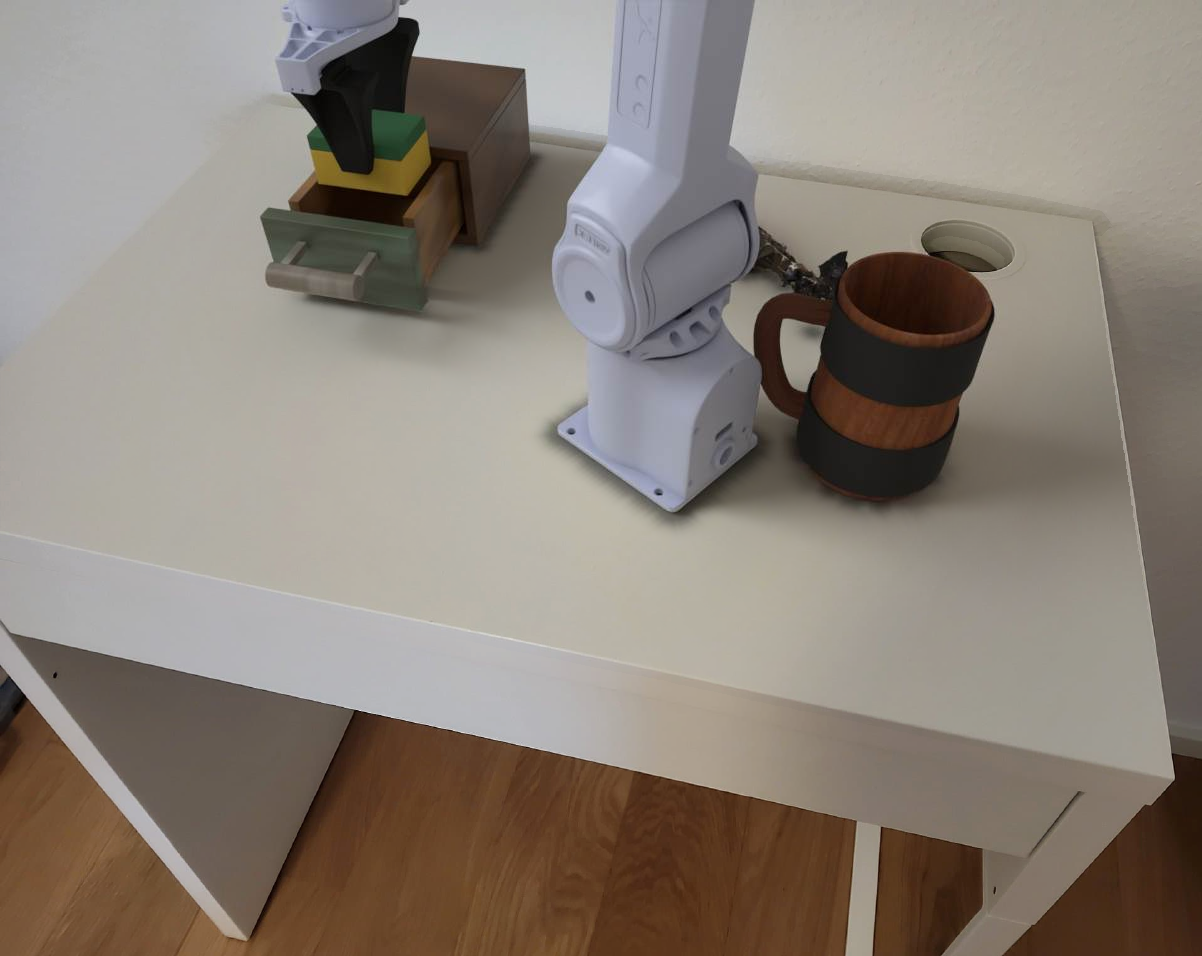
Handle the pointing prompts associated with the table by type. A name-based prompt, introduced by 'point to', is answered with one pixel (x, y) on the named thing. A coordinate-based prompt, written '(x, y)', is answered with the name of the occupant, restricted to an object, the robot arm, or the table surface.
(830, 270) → the airplane wreck
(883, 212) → the table surface
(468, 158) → the cabinet
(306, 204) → the drawer
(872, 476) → the mug
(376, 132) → the sponge
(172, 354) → the table surface
